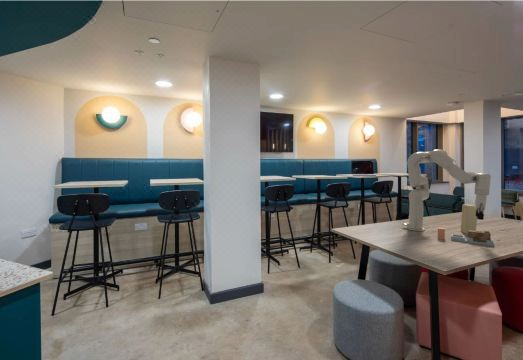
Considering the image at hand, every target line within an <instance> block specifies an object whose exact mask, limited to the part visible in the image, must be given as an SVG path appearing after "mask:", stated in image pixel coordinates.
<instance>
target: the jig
mask: <svg viewBox="0 0 523 360" xmlns="http://www.w3.org/2000/svg"><path fill="white" fill-rule="evenodd" d="M465 235H466V236H465ZM465 235H464V234H456V233H455V234H453V233H450V241H452V242H453V241H454V242H461V243H469V244H475V245H477V244H478V245H483V246H491V247H494V246H495V243H494V239H493V238H492V237H490V240H486V242H479V241H473V238H467V237H468V234H465Z"/></svg>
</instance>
